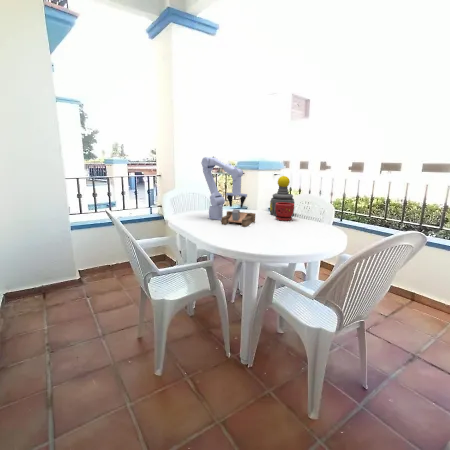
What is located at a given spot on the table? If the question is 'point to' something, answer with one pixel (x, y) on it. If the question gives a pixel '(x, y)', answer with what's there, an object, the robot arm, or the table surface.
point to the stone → (236, 214)
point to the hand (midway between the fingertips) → (236, 207)
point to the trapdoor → (239, 219)
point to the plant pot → (284, 211)
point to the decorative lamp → (281, 195)
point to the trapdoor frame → (245, 222)
